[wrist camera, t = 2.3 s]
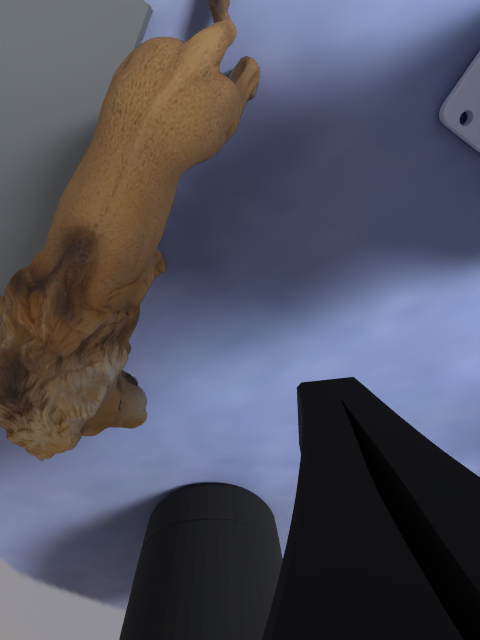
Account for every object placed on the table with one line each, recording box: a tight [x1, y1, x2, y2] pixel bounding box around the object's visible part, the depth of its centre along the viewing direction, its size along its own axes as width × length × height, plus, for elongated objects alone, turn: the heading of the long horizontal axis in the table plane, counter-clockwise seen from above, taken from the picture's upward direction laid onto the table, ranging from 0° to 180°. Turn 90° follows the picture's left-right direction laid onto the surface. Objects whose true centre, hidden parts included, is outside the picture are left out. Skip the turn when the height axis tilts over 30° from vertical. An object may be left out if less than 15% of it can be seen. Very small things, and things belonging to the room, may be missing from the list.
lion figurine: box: [0, 0, 260, 461], centre depth 11 cm, size 15×5×9 cm, turn 158°
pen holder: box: [119, 483, 283, 640], centre depth 20 cm, size 9×9×10 cm
